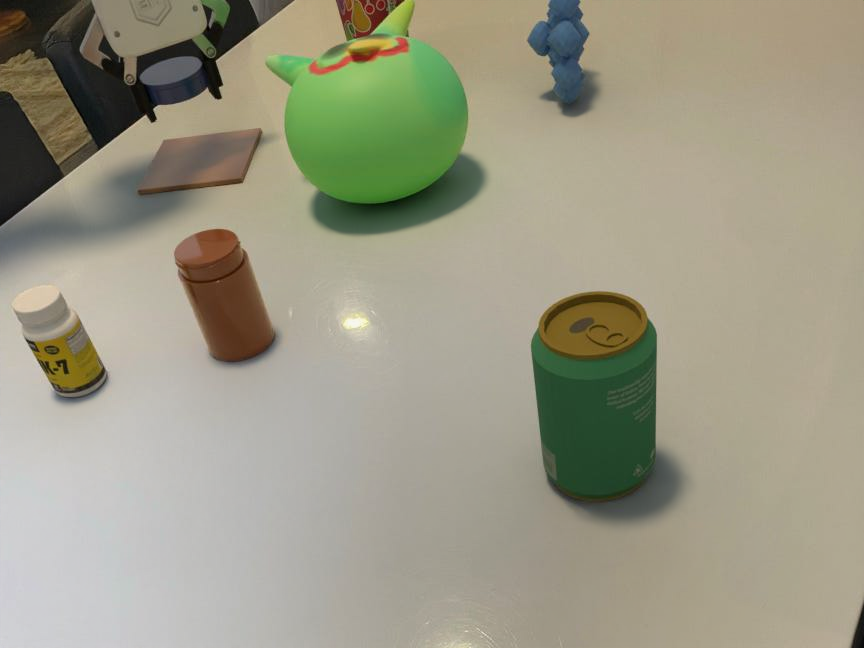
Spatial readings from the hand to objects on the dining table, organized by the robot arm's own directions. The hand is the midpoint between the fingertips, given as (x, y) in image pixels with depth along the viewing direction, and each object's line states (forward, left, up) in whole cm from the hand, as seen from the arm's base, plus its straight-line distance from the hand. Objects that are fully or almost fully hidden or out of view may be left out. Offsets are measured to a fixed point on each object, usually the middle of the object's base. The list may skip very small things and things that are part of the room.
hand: (183, 105), depth 105 cm
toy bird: (+23, -11, -6) cm, 26 cm away
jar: (+12, -36, -6) cm, 38 cm away
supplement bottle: (-2, -40, -6) cm, 41 cm away
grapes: (+41, +6, -6) cm, 42 cm away
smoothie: (+20, +15, -6) cm, 26 cm away
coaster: (0, 0, -6) cm, 6 cm away
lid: (0, 0, +3) cm, 3 cm away
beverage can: (+43, -56, -6) cm, 71 cm away
